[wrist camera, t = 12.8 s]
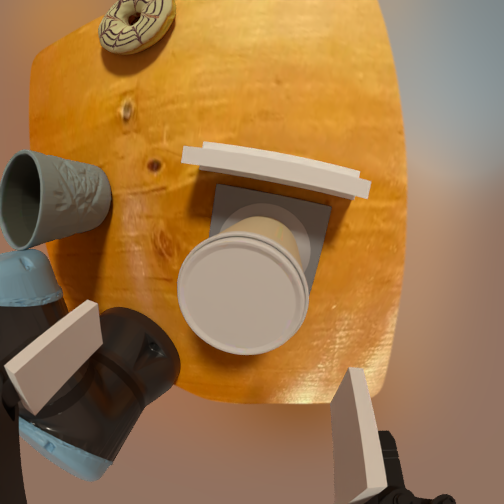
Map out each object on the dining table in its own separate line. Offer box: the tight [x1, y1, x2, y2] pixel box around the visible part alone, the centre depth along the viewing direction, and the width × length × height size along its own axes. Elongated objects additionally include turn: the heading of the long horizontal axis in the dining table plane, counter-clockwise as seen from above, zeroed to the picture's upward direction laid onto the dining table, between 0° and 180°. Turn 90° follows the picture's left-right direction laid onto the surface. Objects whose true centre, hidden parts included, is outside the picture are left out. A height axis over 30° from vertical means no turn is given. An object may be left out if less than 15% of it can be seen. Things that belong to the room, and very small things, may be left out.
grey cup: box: [0, 150, 111, 251], centre depth 26 cm, size 10×10×12 cm
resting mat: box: [209, 184, 332, 294], centre depth 30 cm, size 12×12×1 cm
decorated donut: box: [98, 0, 176, 55], centre depth 22 cm, size 10×11×4 cm
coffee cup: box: [177, 216, 309, 355], centre depth 24 cm, size 9×9×12 cm
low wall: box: [181, 142, 371, 200], centre depth 25 cm, size 3×16×6 cm, turn 80°
